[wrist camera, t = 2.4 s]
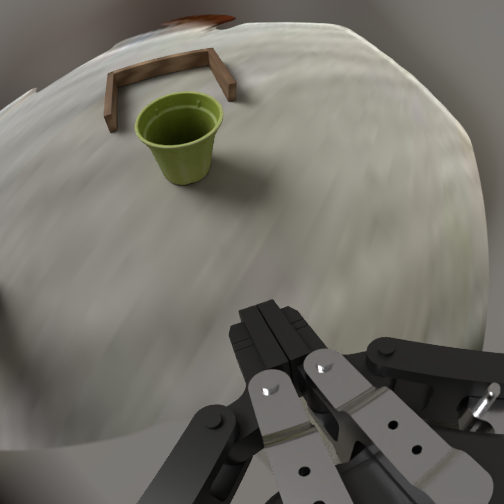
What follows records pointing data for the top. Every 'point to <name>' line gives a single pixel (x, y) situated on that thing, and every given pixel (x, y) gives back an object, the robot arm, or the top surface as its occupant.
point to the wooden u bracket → (164, 67)
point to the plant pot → (181, 133)
